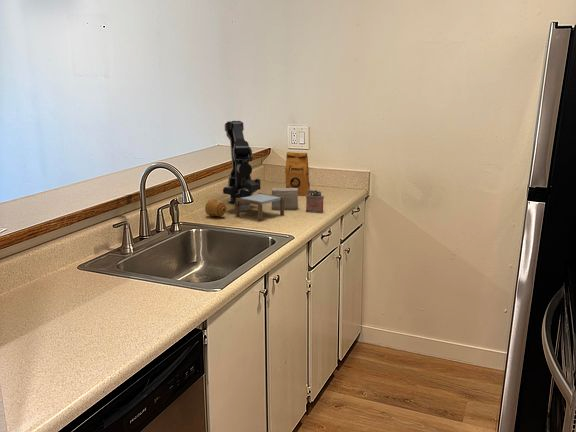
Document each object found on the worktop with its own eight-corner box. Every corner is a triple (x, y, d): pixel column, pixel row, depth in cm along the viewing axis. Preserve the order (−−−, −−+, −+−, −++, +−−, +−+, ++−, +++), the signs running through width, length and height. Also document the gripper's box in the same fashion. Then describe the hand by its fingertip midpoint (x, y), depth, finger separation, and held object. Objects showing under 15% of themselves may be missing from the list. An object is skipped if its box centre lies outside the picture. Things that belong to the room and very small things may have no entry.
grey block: (298, 205, 261) (297, 187, 256) (298, 209, 258) (297, 191, 253) (271, 205, 261) (271, 187, 256) (271, 209, 258) (270, 191, 253)
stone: (234, 209, 257) (234, 198, 256) (242, 207, 261) (242, 196, 260) (242, 211, 254) (242, 200, 253) (250, 209, 258) (250, 198, 257)
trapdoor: (261, 204, 236) (261, 201, 235) (240, 200, 243) (240, 197, 243) (280, 199, 244) (280, 197, 244) (259, 195, 252) (259, 193, 252)
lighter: (324, 212, 253) (324, 190, 251) (322, 213, 250) (322, 191, 248) (307, 210, 256) (307, 188, 253) (304, 212, 253) (305, 190, 250)
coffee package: (306, 198, 282) (306, 154, 277) (282, 196, 286) (282, 152, 281) (312, 194, 291) (312, 151, 286) (289, 193, 295) (289, 150, 290)
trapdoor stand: (260, 221, 236) (260, 202, 234) (235, 216, 244) (235, 198, 243) (284, 215, 247) (284, 197, 245) (259, 210, 256) (259, 192, 254)
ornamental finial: (204, 217, 242) (203, 200, 240) (216, 214, 248) (216, 197, 246) (218, 220, 237) (217, 202, 236) (230, 217, 243) (230, 200, 241)
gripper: (240, 177, 242) (240, 213, 245) (269, 172, 256) (269, 206, 259) (221, 174, 249) (222, 209, 252) (251, 169, 263) (251, 202, 266)
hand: (242, 207), depth 257 cm, fingers closed on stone, 5 cm apart
